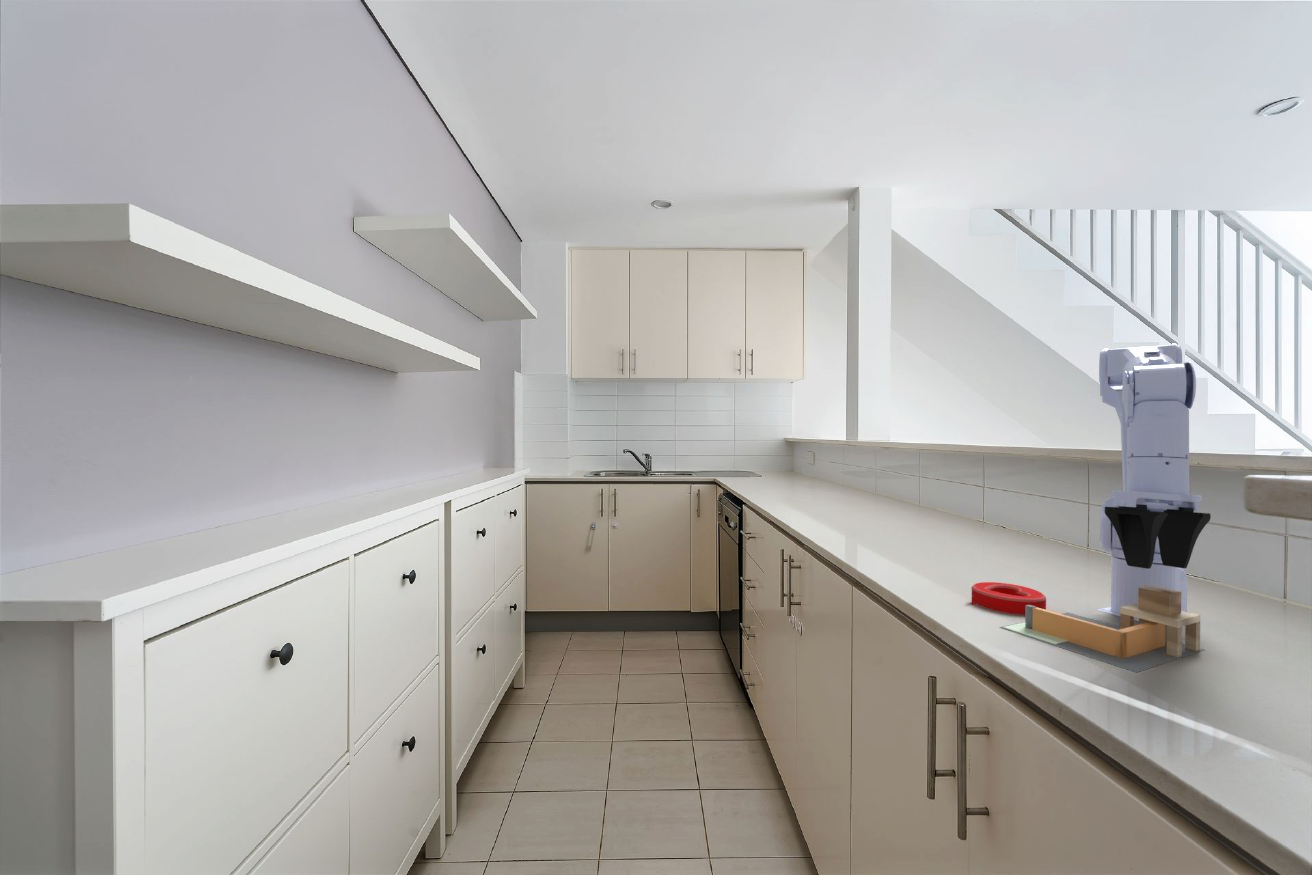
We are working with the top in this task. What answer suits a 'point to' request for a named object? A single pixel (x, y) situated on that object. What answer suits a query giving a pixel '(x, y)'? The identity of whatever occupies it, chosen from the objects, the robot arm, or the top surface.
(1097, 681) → the top surface
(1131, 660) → the mat
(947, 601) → the top surface
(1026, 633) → the end pad
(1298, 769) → the top surface
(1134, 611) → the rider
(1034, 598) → the decorative ornament
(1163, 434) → the robot arm
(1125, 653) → the rail
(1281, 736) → the top surface
